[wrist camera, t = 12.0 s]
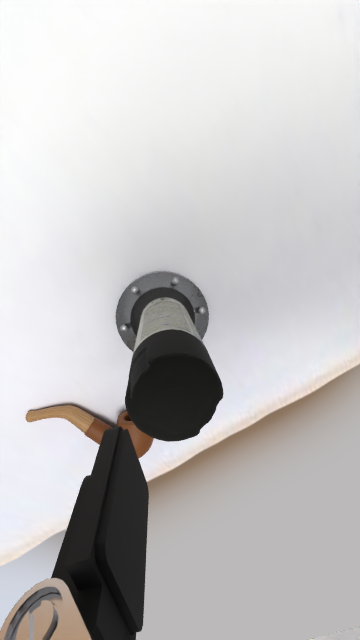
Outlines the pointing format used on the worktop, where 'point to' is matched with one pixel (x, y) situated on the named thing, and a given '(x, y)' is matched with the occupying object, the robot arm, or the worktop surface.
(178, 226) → the worktop surface
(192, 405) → the spray can
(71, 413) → the pipe
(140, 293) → the flange
